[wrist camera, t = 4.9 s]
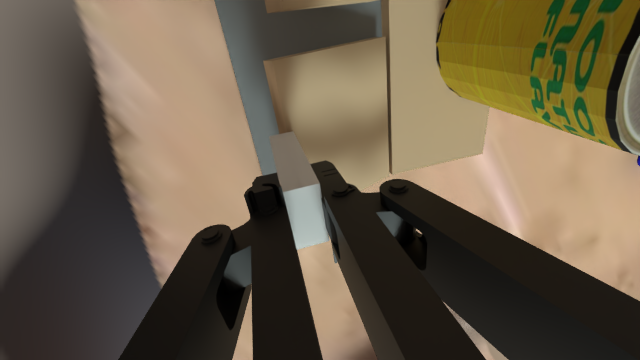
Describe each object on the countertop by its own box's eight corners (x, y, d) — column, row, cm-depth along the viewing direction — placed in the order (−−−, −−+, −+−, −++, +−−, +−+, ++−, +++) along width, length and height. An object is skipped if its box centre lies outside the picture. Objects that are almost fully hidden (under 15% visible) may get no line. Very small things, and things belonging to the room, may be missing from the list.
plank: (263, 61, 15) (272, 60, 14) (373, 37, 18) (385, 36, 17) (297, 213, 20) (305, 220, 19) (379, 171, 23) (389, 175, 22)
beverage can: (470, 119, 23) (648, 194, 13) (401, 44, 19) (580, 63, 9) (562, 22, 21) (871, 16, 10) (505, -87, 17) (917, -274, 6)
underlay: (155, -222, 13) (136, -272, 11) (508, -242, 15) (549, -288, 13) (267, 188, 23) (268, 203, 21) (463, 143, 25) (482, 153, 23)
